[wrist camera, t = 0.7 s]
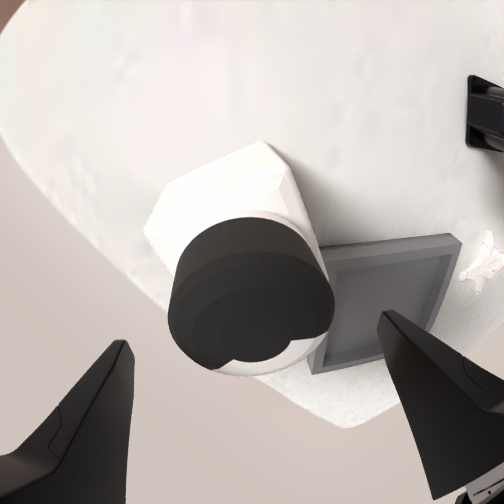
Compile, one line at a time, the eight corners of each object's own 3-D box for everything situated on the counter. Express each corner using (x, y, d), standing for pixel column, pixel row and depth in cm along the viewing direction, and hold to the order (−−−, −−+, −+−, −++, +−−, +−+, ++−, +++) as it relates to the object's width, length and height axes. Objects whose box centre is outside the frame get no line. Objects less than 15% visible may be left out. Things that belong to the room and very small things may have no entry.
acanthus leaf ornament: (484, 226, 24) (495, 234, 22) (502, 246, 26) (511, 254, 24) (450, 281, 27) (459, 290, 25) (472, 293, 29) (480, 302, 27)
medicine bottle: (165, 183, 18) (105, 302, 8) (264, 138, 17) (331, 206, 7) (212, 264, 22) (212, 408, 12) (300, 228, 21) (366, 356, 11)
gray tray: (450, 233, 23) (462, 243, 21) (415, 335, 30) (422, 346, 28) (318, 247, 22) (326, 261, 20) (307, 360, 29) (311, 374, 28)
